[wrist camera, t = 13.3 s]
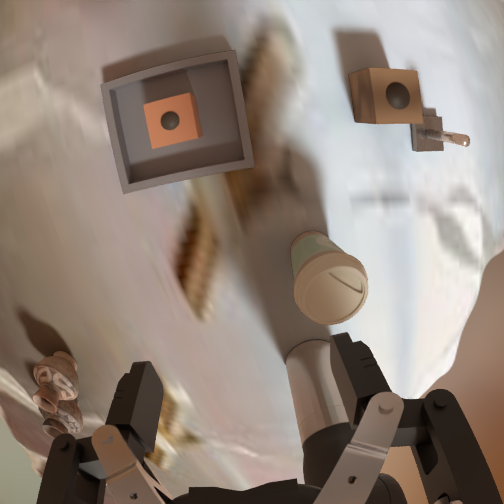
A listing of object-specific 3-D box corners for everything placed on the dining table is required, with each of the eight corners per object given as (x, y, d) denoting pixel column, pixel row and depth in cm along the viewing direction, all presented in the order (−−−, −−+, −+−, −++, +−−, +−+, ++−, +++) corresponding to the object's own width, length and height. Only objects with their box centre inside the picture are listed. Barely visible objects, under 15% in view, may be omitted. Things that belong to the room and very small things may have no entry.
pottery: (90, 355, 48) (69, 402, 37) (90, 418, 57) (77, 456, 46) (40, 333, 46) (13, 375, 35) (50, 401, 55) (34, 437, 44)
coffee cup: (346, 262, 43) (379, 309, 32) (293, 286, 44) (311, 339, 33) (328, 211, 40) (363, 247, 29) (270, 236, 41) (284, 282, 30)
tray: (253, 163, 36) (255, 166, 34) (130, 188, 37) (123, 194, 34) (235, 55, 30) (235, 49, 28) (109, 86, 31) (100, 84, 28)
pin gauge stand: (438, 149, 36) (479, 160, 28) (412, 150, 36) (452, 161, 28) (437, 116, 34) (478, 121, 26) (410, 115, 34) (450, 119, 26)
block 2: (397, 120, 35) (423, 123, 29) (354, 122, 35) (376, 124, 29) (391, 75, 32) (417, 70, 26) (348, 74, 32) (369, 67, 26)
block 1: (195, 96, 32) (189, 92, 27) (202, 135, 34) (198, 138, 29) (154, 106, 32) (142, 104, 27) (162, 145, 34) (152, 149, 29)
